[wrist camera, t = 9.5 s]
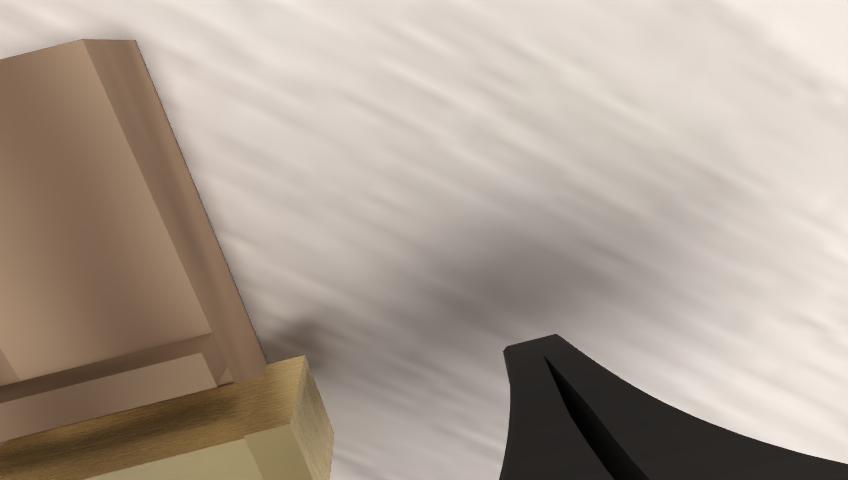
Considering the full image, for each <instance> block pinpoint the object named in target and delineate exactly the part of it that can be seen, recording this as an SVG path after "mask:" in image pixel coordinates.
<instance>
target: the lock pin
mask: <svg viewBox="0 0 848 480" xmlns="http://www.w3.org/2000/svg"><path fill="white" fill-rule="evenodd" d="M333 440H334V431H333V429H332V426H331V423H330V421H329V418H328V415H327V413H326V410H325V407H324V405H323V402H322V399H321V397H320V394H319V391H318V389H317V386H316V383H315V381H314V378H313V375H312V373H311V370H310V367H309V365H308V362H307V359H306V357H305V355H302V356H298V357H295V358H291V359H287V360H283V361H279V362H275V363H271V364H267V366H266V369H265V372H264V375H263V376H261V377H257V378H253V379H249V380H245V381H241V382H237V383H233V384H229V385H225V386H222V387H218V388H214V389H210V390H206V391H202V392H198V393H194V394H190V395H186V396H182V397H178V398H174V399H170V400H166V401H162V402H158V403H154V404H150V405H147V406H143V407H139V408H135V409H131V410H127V411H123V412H119V413H115V414H111V415H107V416H103V417H99V418H95V419H91V420H87V421H83V422H79V423H76V424H72V425H68V426H64V427H60V428H56V429H52V430H48V431H44V432H40V433H36V434H32V435H28V436H24V437H20V438H16V439H12V440H8V441H6V442H5V443H4V444H3V445H2V446H1V447H0V480H330V471H331V461H332V451H333Z"/></svg>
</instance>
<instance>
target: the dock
mask: <svg viewBox="0 0 848 480" xmlns="http://www.w3.org/2000/svg"><path fill="white" fill-rule="evenodd" d="M266 366H267V361H266V359H265V356H264V354H263V352H262V349H261V347H260V344H259V342H258V339H257V337H256V334H255V332H254V330H253V327H252V325H251V322H250V320H249V317H248V315H247V312H246V310H245V308H244V305H243V303H242V300H241V298H240V295H239V293H238V291H237V288H236V286H235V283H234V281H233V278H232V276H231V273H230V271H229V269H228V266H227V264H226V261H225V259H224V256H223V254H222V251H221V249H220V247H219V244H218V242H217V239H216V237H215V234H214V232H213V229H212V227H211V225H210V222H209V220H208V217H207V215H206V212H205V210H204V207H203V205H202V203H201V200H200V198H199V195H198V193H197V190H196V188H195V185H194V183H193V181H192V178H191V176H190V173H189V171H188V168H187V166H186V164H185V161H184V159H183V156H182V154H181V151H180V149H179V146H178V144H177V142H176V139H175V137H174V134H173V132H172V129H171V127H170V124H169V122H168V120H167V117H166V115H165V112H164V110H163V107H162V105H161V102H160V100H159V98H158V95H157V93H156V90H155V88H154V85H153V83H152V80H151V78H150V76H149V73H148V71H147V68H146V66H145V63H144V61H143V58H142V56H141V54H140V51H139V49H138V46H137V44H136V41H135V40H91V39H81V40H77V41H73V42H69V43H65V44H61V45H57V46H53V47H49V48H45V49H41V50H37V51H33V52H29V53H25V54H21V55H17V56H13V57H9V58H5V59H1V60H0V447H1V446H2V445H3V444H4V443H5V442H6V441H8V440H12V439H16V438H20V437H24V436H28V435H32V434H36V433H40V432H44V431H48V430H52V429H56V428H60V427H64V426H68V425H72V424H76V423H79V422H83V421H87V420H91V419H95V418H99V417H103V416H107V415H111V414H115V413H119V412H123V411H127V410H131V409H135V408H139V407H143V406H147V405H150V404H154V403H158V402H162V401H166V400H170V399H174V398H178V397H182V396H186V395H190V394H194V393H198V392H202V391H206V390H210V389H214V388H218V387H222V386H225V385H229V384H233V383H237V382H241V381H245V380H249V379H253V378H257V377H261V376H263V375H264V372H265V369H266Z"/></svg>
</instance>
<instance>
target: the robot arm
mask: <svg viewBox="0 0 848 480" xmlns="http://www.w3.org/2000/svg"><path fill="white" fill-rule="evenodd" d="M503 353H504V358H505V363H506V368H507V372H508V377H509V382H510V417H509V429H508V437H507V444H506V450H505V456H504V461H503V466H502V470H501V474H500V478H499V480H848V464H845V463H840V462H836V461H832V460H828V459H823V458H819V457H815V456H810V455H806V454H802V453H799V452H795V451H792V450H788V449H785V448H782V447H778V446H775V445H771V444H768V443H765V442H762V441H759V440H756V439H752V438H749V437H746V436H743V435H741V434H738V433H735V432H732V431H730V430H727V429H724V428H722V427H719V426H716V425H714V424H711V423H709V422H706V421H704V420H701V419H699V418H696V417H694V416H692V415H690V414H687V413H685V412H683V411H681V410H679V409H677V408H675V407H672V406H670V405H668V404H666V403H664V402H662V401H660V400H658V399H656V398H654V397H652V396H650V395H648V394H647V393H645V392H643V391H641V390H640V389H638V388H636V387H634V386H633V385H631V384H629V383H628V382H626V381H624V380H623V379H621V378H620V377H618V376H616V375H615V374H613V373H612V372H610V371H609V370H607V369H606V368H604V367H602V366H601V365H599V364H598V363H597V362H595V361H594V360H592V359H591V358H589V357H588V356H586V355H585V354H584V353H582V352H581V351H579V350H578V349H577V348H575V347H574V346H573V345H571V344H570V343H569V342H567V341H566V340H564V339H563V338H562V337H560V336H559V335H557V334H554V335H550V336H546V337H542V338H538V339H534V340H530V341H526V342H522V343H518V344H514V345H510V346H507V347H506V348H505V350H504V351H503Z"/></svg>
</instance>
